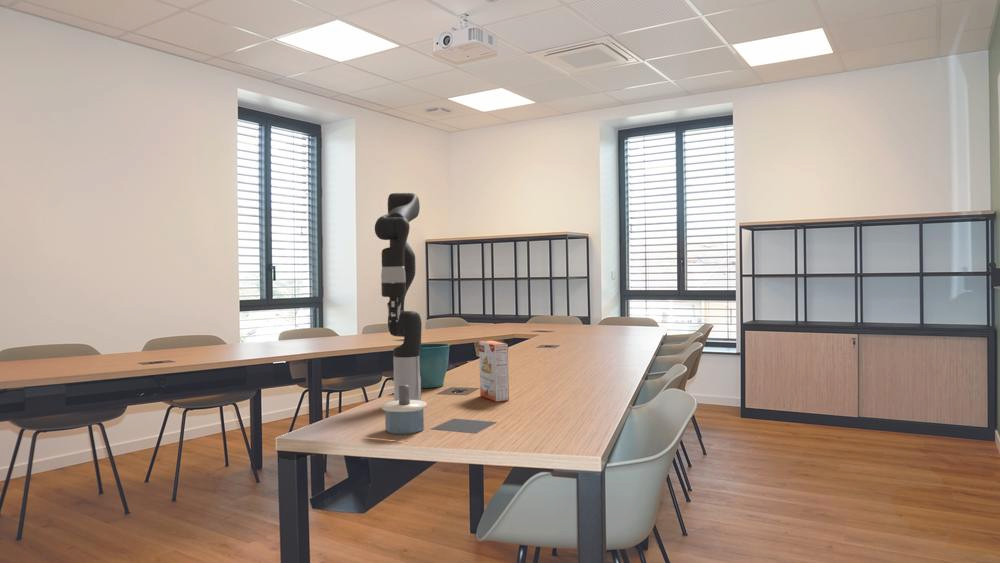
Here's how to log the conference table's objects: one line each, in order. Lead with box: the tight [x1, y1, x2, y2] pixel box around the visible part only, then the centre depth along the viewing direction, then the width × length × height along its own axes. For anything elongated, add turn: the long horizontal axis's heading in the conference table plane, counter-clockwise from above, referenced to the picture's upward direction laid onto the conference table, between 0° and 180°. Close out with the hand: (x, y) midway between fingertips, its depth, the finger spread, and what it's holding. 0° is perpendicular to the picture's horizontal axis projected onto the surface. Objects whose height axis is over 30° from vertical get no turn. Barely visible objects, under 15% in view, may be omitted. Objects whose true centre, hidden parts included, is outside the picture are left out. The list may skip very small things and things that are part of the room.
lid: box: [381, 384, 428, 412], centre depth 189 cm, size 13×13×6 cm
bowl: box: [384, 409, 425, 435], centre depth 189 cm, size 11×11×7 cm
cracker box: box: [478, 340, 510, 403], centre depth 238 cm, size 14×6×21 cm, turn 25°
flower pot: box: [419, 342, 451, 389], centre depth 268 cm, size 18×18×17 cm
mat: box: [430, 418, 498, 434], centre depth 194 cm, size 15×15×1 cm
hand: (394, 333), depth 201 cm, fingers open, 8 cm apart
